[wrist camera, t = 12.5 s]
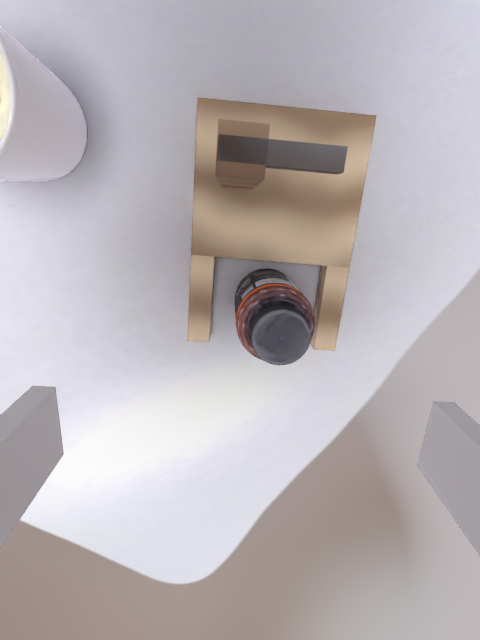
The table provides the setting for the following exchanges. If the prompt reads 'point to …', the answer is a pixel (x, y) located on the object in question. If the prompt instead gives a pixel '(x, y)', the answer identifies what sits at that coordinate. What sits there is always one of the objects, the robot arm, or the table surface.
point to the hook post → (268, 154)
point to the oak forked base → (279, 208)
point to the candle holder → (36, 118)
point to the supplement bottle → (273, 317)
